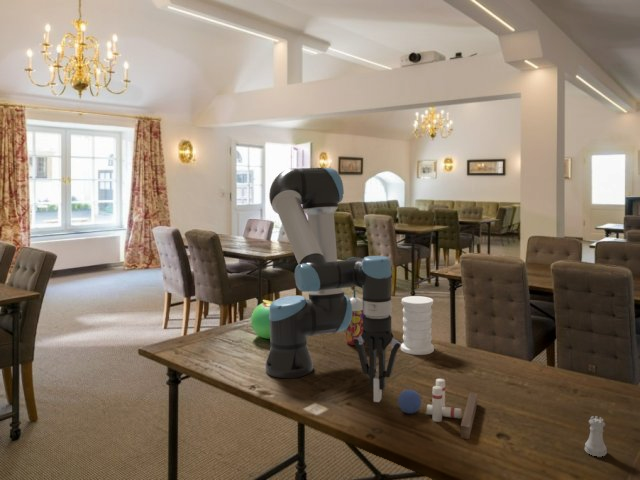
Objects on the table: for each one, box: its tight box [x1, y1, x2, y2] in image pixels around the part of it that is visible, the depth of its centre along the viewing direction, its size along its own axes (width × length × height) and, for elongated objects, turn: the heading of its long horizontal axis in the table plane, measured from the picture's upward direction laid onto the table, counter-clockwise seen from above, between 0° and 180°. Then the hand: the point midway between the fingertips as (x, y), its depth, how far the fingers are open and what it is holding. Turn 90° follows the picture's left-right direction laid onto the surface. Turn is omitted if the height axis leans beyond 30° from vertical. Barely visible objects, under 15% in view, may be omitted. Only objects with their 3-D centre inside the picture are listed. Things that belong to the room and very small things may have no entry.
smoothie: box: [344, 289, 364, 346], centre depth 197 cm, size 8×8×20 cm
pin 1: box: [435, 378, 446, 407], centre depth 141 cm, size 2×2×8 cm
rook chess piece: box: [584, 415, 608, 458], centre depth 119 cm, size 4×4×8 cm
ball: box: [397, 389, 422, 414], centre depth 141 cm, size 6×6×6 cm
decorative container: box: [400, 295, 435, 356], centre depth 189 cm, size 12×12×18 cm
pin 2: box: [431, 385, 443, 423], centre depth 137 cm, size 2×2×8 cm
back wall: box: [460, 392, 478, 440], centre depth 136 cm, size 2×20×3 cm, turn 159°
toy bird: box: [250, 299, 275, 340], centre depth 206 cm, size 18×17×15 cm
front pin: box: [426, 404, 462, 420], centre depth 139 cm, size 2×2×8 cm
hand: (377, 399), depth 145 cm, fingers closed
